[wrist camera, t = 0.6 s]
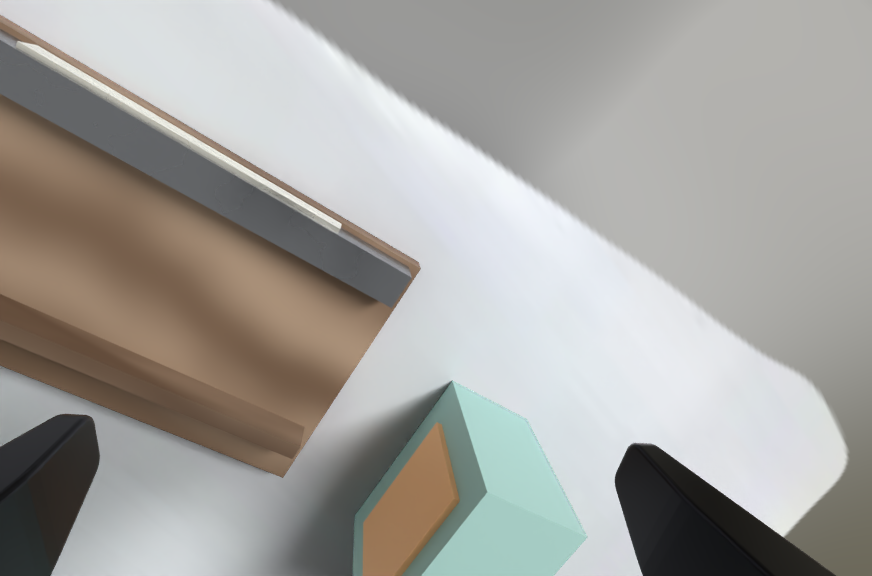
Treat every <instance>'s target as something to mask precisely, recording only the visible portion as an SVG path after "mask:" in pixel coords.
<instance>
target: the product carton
mask: <svg viewBox="0 0 872 576" xmlns="http://www.w3.org/2000/svg"><path fill="white" fill-rule="evenodd" d="M586 538H587V535H586V533H585V531H584V529H583V527H582V525H581V523H580V521H579V520H578V518H577V516H576V514H575V512H574V510H573V508H572V506H571V504H570V502H569V500H568V498H567V496H566V494H565V492H564V491H563V489H562V487H561V485H560V483H559V481H558V479H557V477H556V475H555V473H554V471H553V469H552V467H551V465H550V463H549V461H548V460H547V458H546V456H545V454H544V452H543V450H542V448H541V446H540V444H539V442H538V440H537V438H536V436H535V434H534V432H533V430H532V429H531V427H530V425H529V423H528V421H527V419H526V418H524V417H522V416H520V415H518V414H516V413H514V412H512V411H510V410H508V409H506V408H504V407H502V406H500V405H499V404H497V403H495V402H493V401H491V400H489V399H487V398H485V397H483V396H481V395H479V394H477V393H475V392H473V391H472V390H470V389H468V388H466V387H464V386H462V385H460V384H458V383H456V382H454V381H452V382H451V383H450V385H449V386H448V387H447V389H446V390H445V391H444V393H443V394H442V396H441V397H440V398H439V400H438V401H437V403H436V404H435V405H434V407H433V408H432V409H431V411H430V412H429V414H428V415H427V416H426V418H425V419H424V421H423V422H422V423H421V425H420V426H419V428H418V429H417V430H416V432H415V433H414V434H413V436H412V437H411V439H410V440H409V441H408V443H407V444H406V446H405V447H404V448H403V450H402V451H401V452H400V454H399V455H398V457H397V458H396V459H395V461H394V462H393V464H392V465H391V466H390V468H389V469H388V470H387V472H386V473H385V475H384V476H383V477H382V479H381V480H380V482H379V483H378V484H377V486H376V487H375V489H374V490H373V491H372V493H371V494H370V495H369V497H368V498H367V500H366V501H365V502H364V504H363V505H362V507H361V508H360V509H359V511H358V512H357V513H356V515H355V519H354V548H353V576H554V575H555V574H556V572H557V571H558V570H559V569H560V568H561V567H562V566H563V564H564V563H565V562H566V561H567V560H568V559H569V558H570V557H571V555H572V554H573V553H574V552H575V551H576V550H577V549H578V547H579V546H580V545H581V544H582V543H583V542H584V541H585V540H586Z"/></svg>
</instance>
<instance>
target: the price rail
mask: <svg viewBox="0 0 872 576" xmlns="http://www.w3.org/2000/svg"><path fill="white" fill-rule="evenodd" d="M0 94H2V95H3V96H5V97H7V98H9V99H11V100H12V101H14V102H16V103H18V104H20V105H22V106H23V107H25V108H27V109H29V110H31V111H33V112H34V113H36V114H38V115H40V116H42V117H44V118H45V119H47V120H49V121H51V122H53V123H54V124H56V125H58V126H60V127H62V128H64V129H65V130H67V131H69V132H71V133H73V134H75V135H76V136H78V137H80V138H82V139H84V140H86V141H87V142H89V143H91V144H93V145H95V146H96V147H98V148H100V149H102V150H104V151H106V152H107V153H109V154H111V155H113V156H115V157H117V158H118V159H120V160H122V161H124V162H126V163H128V164H129V165H131V166H133V167H135V168H137V169H138V170H140V171H142V172H144V173H146V174H148V175H149V176H151V177H153V178H155V179H157V180H159V181H160V182H162V183H164V184H166V185H168V186H169V187H171V188H173V189H175V190H177V191H179V192H180V193H182V194H184V195H186V196H188V197H190V198H191V199H193V200H195V201H197V202H199V203H201V204H202V205H204V206H206V207H208V208H210V209H211V210H213V211H215V212H217V213H219V214H221V215H222V216H224V217H226V218H228V219H230V220H232V221H233V222H235V223H237V224H239V225H241V226H243V227H244V228H246V229H248V230H250V231H252V232H253V233H255V234H257V235H259V236H261V237H263V238H264V239H266V240H268V241H270V242H272V243H274V244H275V245H277V246H279V247H281V248H283V249H285V250H286V251H288V252H290V253H292V254H294V255H295V256H297V257H299V258H301V259H303V260H305V261H306V262H308V263H310V264H312V265H314V266H316V267H317V268H319V269H321V270H323V271H325V272H327V273H328V274H330V275H332V276H334V277H336V278H337V279H339V280H341V281H343V282H345V283H347V284H348V285H350V286H352V287H354V288H356V289H358V290H359V291H361V292H363V293H365V294H367V295H369V296H370V297H372V298H374V299H376V300H378V301H379V302H381V303H383V304H385V305H387V306H389V307H390V308H392V307H393V305H394V304H395V302H396V301H397V299H398V298H399V296H400V295H401V293H402V292H403V290H404V289H405V287H406V286H407V284H408V282H409V281H410V279H411V278H412V277H411V273H410V269H409V267H408V266H406V265H405V264H403V263H401V262H400V261H398V260H396V259H395V258H393V257H391V256H389V255H388V254H386V253H384V252H383V251H381V250H379V249H377V248H376V247H374V246H372V245H371V244H369V243H367V242H365V241H364V240H362V239H360V238H359V237H357V236H355V235H353V234H352V233H350V232H348V231H347V230H345V229H343V228H341V225H342V224H341V223H340V222H338V221H336V220H334V219H333V218H331V217H329V216H328V215H326V214H324V213H322V212H321V211H319V210H317V209H316V208H314V207H312V206H311V205H309V204H307V203H305V202H304V201H302V200H300V199H299V198H297V197H295V196H293V195H292V194H290V193H288V192H287V191H285V190H283V189H282V188H280V187H278V186H276V185H275V184H273V183H271V182H270V181H268V180H266V179H265V178H263V177H261V176H259V175H258V174H256V173H254V172H253V171H251V170H249V169H247V168H246V167H244V166H242V165H241V164H239V163H237V162H236V161H234V160H232V159H230V158H229V157H227V156H225V155H224V154H222V153H220V152H218V151H217V150H215V149H213V148H212V147H210V146H208V145H207V144H205V143H203V142H201V141H200V140H198V139H196V138H195V137H193V136H191V135H190V134H188V133H186V132H184V131H183V130H181V129H179V128H178V127H176V126H174V125H172V124H171V123H169V122H167V121H166V120H164V119H162V118H161V117H159V116H157V115H155V114H154V113H152V112H150V111H149V110H147V109H145V108H143V107H142V106H140V105H138V104H137V103H135V102H133V101H132V100H130V99H128V98H126V97H125V96H123V95H121V94H120V93H118V92H116V91H115V90H113V89H111V88H109V87H108V86H106V85H104V84H103V83H101V82H99V81H97V80H96V79H94V78H92V77H91V76H89V75H87V74H86V73H84V72H82V71H80V70H79V69H77V68H75V67H74V66H72V65H70V64H68V63H67V62H65V61H63V60H62V59H60V58H58V57H57V56H55V55H53V54H51V53H50V52H48V51H46V50H45V49H43V48H41V47H39V46H38V45H34V44H29V43H25V42H23V41H21V40H20V39H18V38H16V37H14V36H13V35H11V34H9V33H8V32H6V31H4V30H2V29H1V28H0Z"/></svg>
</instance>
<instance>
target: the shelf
mask: <svg viewBox="0 0 872 576" xmlns="http://www.w3.org/2000/svg"><path fill="white" fill-rule="evenodd" d="M0 28H1V29H2V30H4V31H6V32H8V33H9V34H11V35H13V36H14V37H16V38H18V39H20V40H21V41H23V42H25V43H29V44H34V45H38V46H39V47H41V48H43V49H45V50H46V51H48V52H50V53H51V54H53V55H55V56H57V57H58V58H60V59H62V60H63V61H65V62H67V63H68V64H70V65H72V66H74V67H75V68H77V69H79V70H80V71H82V72H84V73H86V74H87V75H89V76H91V77H92V78H94V79H96V80H97V81H99V82H101V83H103V84H104V85H106V86H108V87H109V88H111V89H113V90H115V91H116V92H118V93H120V94H121V95H123V96H125V97H126V98H128V99H130V100H132V101H133V102H135V103H137V104H138V105H140V106H142V107H143V108H145V109H147V110H149V111H150V112H152V113H154V114H155V115H157V116H159V117H161V118H162V119H164V120H166V121H167V122H169V123H171V124H172V125H174V126H176V127H178V128H179V129H181V130H183V131H184V132H186V133H188V134H190V135H191V136H193V137H195V138H196V139H198V140H200V141H201V142H203V143H205V144H207V145H208V146H210V147H212V148H213V149H215V150H217V151H218V152H220V153H222V154H224V155H225V156H227V157H229V158H230V159H232V160H234V161H236V162H237V163H239V164H241V165H242V166H244V167H246V168H247V169H249V170H251V171H253V172H254V173H256V174H258V175H259V176H261V177H263V178H265V179H266V180H268V181H270V182H271V183H273V184H275V185H276V186H278V187H280V188H282V189H283V190H285V191H287V192H288V193H290V194H292V195H293V196H295V197H297V198H299V199H300V200H302V201H304V202H305V203H307V204H309V205H311V206H312V207H314V208H316V209H317V210H319V211H321V212H322V213H324V214H326V215H328V216H329V217H331V218H333V219H334V220H336V221H338V222H340V223H341V224H342V225H341V228H343V229H345V230H347V231H348V232H350V233H352V234H353V235H355V236H357V237H359V238H360V239H362V240H364V241H365V242H367V243H369V244H371V245H372V246H374V247H376V248H377V249H379V250H381V251H383V252H384V253H386V254H388V255H389V256H391V257H393V258H395V259H396V260H398V261H400V262H401V263H403V264H405V265H406V266H408V267H409V269H410V273H411V277H412V278H411V279H410V281H409V282H408V284H407V286H406V287H405V289H404V290H403V292H402V293H401V295H400V296H399V298H398V299H397V301H396V302H395V304H394V305H393V307H392V308H390V307H389V306H387V305H385V304H383V303H381V302H379V301H378V300H376V299H374V298H372V297H370V296H369V295H367V294H365V293H363V292H361V291H359V290H358V289H356V288H354V287H352V286H350V285H348V284H347V283H345V282H343V281H341V280H339V279H337V278H336V277H334V276H332V275H330V274H328V273H327V272H325V271H323V270H321V269H319V268H317V267H316V266H314V265H312V264H310V263H308V262H306V261H305V260H303V259H301V258H299V257H297V256H295V255H294V254H292V253H290V252H288V251H286V250H285V249H283V248H281V247H279V246H277V245H275V244H274V243H272V242H270V241H268V240H266V239H264V238H263V237H261V236H259V235H257V234H255V233H253V232H252V231H250V230H248V229H246V228H244V227H243V226H241V225H239V224H237V223H235V222H233V221H232V220H230V219H228V218H226V217H224V216H222V215H221V214H219V213H217V212H215V211H213V210H211V209H210V208H208V207H206V206H204V205H202V204H201V203H199V202H197V201H195V200H193V199H191V198H190V197H188V196H186V195H184V194H182V193H180V192H179V191H177V190H175V189H173V188H171V187H169V186H168V185H166V184H164V183H162V182H160V181H159V180H157V179H155V178H153V177H151V176H149V175H148V174H146V173H144V172H142V171H140V170H138V169H137V168H135V167H133V166H131V165H129V164H128V163H126V162H124V161H122V160H120V159H118V158H117V157H115V156H113V155H111V154H109V153H107V152H106V151H104V150H102V149H100V148H98V147H96V146H95V145H93V144H91V143H89V142H87V141H86V140H84V139H82V138H80V137H78V136H76V135H75V134H73V133H71V132H69V131H67V130H65V129H64V128H62V127H60V126H58V125H56V124H54V123H53V122H51V121H49V120H47V119H45V118H44V117H42V116H40V115H38V114H36V113H34V112H33V111H31V110H29V109H27V108H25V107H23V106H22V105H20V104H18V103H16V102H14V101H12V100H11V99H9V98H7V97H5V96H3V95H2V94H0V366H3V367H5V368H8V369H10V370H13V371H15V372H18V373H20V374H23V375H26V376H28V377H31V378H33V379H36V380H38V381H41V382H43V383H46V384H48V385H51V386H53V387H56V388H58V389H61V390H63V391H66V392H68V393H71V394H73V395H76V396H78V397H81V398H83V399H86V400H88V401H91V402H93V403H96V404H99V405H101V406H104V407H106V408H109V409H111V410H114V411H116V412H119V413H121V414H124V415H126V416H129V417H131V418H134V419H136V420H139V421H141V422H144V423H146V424H149V425H151V426H154V427H156V428H159V429H161V430H164V431H166V432H169V433H172V434H174V435H177V436H179V437H182V438H184V439H187V440H189V441H192V442H194V443H197V444H199V445H202V446H204V447H207V448H209V449H212V450H214V451H217V452H219V453H222V454H224V455H227V456H229V457H232V458H234V459H237V460H239V461H242V462H245V463H247V464H250V465H252V466H255V467H257V468H260V469H262V470H265V471H267V472H270V473H272V474H275V475H277V476H280V477H282V478H283V477H284V475H285V474H286V472H287V471H288V469H289V468H290V466H291V465H292V463H293V462H294V460H295V459H296V457H297V456H298V454H299V453H300V451H301V449H302V448H303V446H304V445H305V443H306V442H307V440H308V439H309V437H310V436H311V434H312V433H313V431H314V430H315V428H316V427H317V425H318V424H319V422H320V421H321V419H322V418H323V416H324V415H325V413H326V412H327V410H328V409H329V407H330V406H331V404H332V402H333V401H334V399H335V398H336V396H337V395H338V393H339V392H340V390H341V389H342V387H343V386H344V384H345V383H346V381H347V380H348V378H349V377H350V375H351V374H352V372H353V371H354V369H355V368H356V366H357V365H358V363H359V362H360V360H361V358H362V357H363V355H364V354H365V352H366V351H367V349H368V348H369V346H370V345H371V343H372V342H373V340H374V339H375V337H376V336H377V334H378V333H379V331H380V330H381V328H382V327H383V325H384V324H385V322H386V321H387V319H388V318H389V316H390V314H391V313H392V311H393V310H394V308H395V307H396V305H397V304H398V302H399V301H400V299H401V298H402V296H403V295H404V293H405V292H406V290H407V289H408V287H409V286H410V284H411V283H412V281H413V280H414V278H415V277H416V275H417V274H418V272H419V271H420V269H421V268H420V265H419V262H417V261H415V260H414V259H412V258H410V257H409V256H407V255H405V254H404V253H402V252H400V251H399V250H397V249H395V248H393V247H392V246H390V245H388V244H387V243H385V242H383V241H382V240H380V239H378V238H377V237H375V236H373V235H371V234H370V233H368V232H366V231H365V230H363V229H361V228H360V227H358V226H356V225H355V224H353V223H351V222H349V221H348V220H346V219H344V218H343V217H341V216H339V215H338V214H336V213H334V212H333V211H331V210H329V209H328V208H326V207H324V206H322V205H321V204H319V203H317V202H316V201H314V200H312V199H311V198H309V197H307V196H306V195H304V194H302V193H300V192H299V191H297V190H295V189H294V188H292V187H290V186H289V185H287V184H285V183H284V182H282V181H280V180H278V179H277V178H275V177H273V176H272V175H270V174H268V173H267V172H265V171H263V170H262V169H260V168H258V167H256V166H255V165H253V164H251V163H250V162H248V161H246V160H245V159H243V158H241V157H240V156H238V155H236V154H235V153H233V152H231V151H229V150H228V149H226V148H224V147H223V146H221V145H219V144H218V143H216V142H214V141H213V140H211V139H209V138H207V137H206V136H204V135H202V134H201V133H199V132H197V131H196V130H194V129H192V128H191V127H189V126H187V125H185V124H184V123H182V122H180V121H179V120H177V119H175V118H174V117H172V116H170V115H169V114H167V113H165V112H163V111H162V110H160V109H158V108H157V107H155V106H153V105H152V104H150V103H148V102H147V101H145V100H143V99H141V98H140V97H138V96H136V95H135V94H133V93H131V92H130V91H128V90H126V89H125V88H123V87H121V86H120V85H118V84H116V83H114V82H113V81H111V80H109V79H108V78H106V77H104V76H103V75H101V74H99V73H98V72H96V71H94V70H92V69H91V68H89V67H87V66H86V65H84V64H82V63H81V62H79V61H77V60H76V59H74V58H72V57H70V56H69V55H67V54H65V53H64V52H62V51H60V50H59V49H57V48H55V47H54V46H52V45H50V44H48V43H47V42H45V41H43V40H42V39H40V38H38V37H37V36H35V35H33V34H32V33H30V32H28V31H27V30H25V29H23V28H21V27H20V26H18V25H16V24H15V23H13V22H11V21H10V20H8V19H6V18H5V17H3V16H1V15H0Z"/></svg>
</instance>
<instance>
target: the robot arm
mask: <svg viewBox="0 0 872 576" xmlns="http://www.w3.org/2000/svg"><path fill="white" fill-rule="evenodd" d="M99 459H100V454H99V448H98V442H97V436H96V430H95V424H94V421H93V419H92V418H91V417H90V416H87V415H75V414H60V415H57V416H55V417H53V418H51V419H49V420H47V421H46V422H44V423H42V424H40V425H39V426H37V427H35V428H33V429H31V430H30V431H28V432H26V433H24V434H23V435H21V436H19V437H17V438H15V439H14V440H12V441H10V442H8V443H6V444H5V445H3V446H1V447H0V576H50V575H51V574H52V572H53V569H54V567H55V565H56V563H57V561H58V559H59V556H60V554H61V552H62V550H63V547H64V545H65V543H66V541H67V538H68V536H69V534H70V531H71V529H72V527H73V524H74V522H75V520H76V518H77V515H78V513H79V511H80V508H81V506H82V504H83V502H84V499H85V497H86V495H87V492H88V490H89V488H90V486H91V483H92V481H93V479H94V476H95V474H96V472H97V469H98V465H99ZM615 487H616V491H617V494H618V497H619V501H620V504H621V507H622V511H623V514H624V517H625V521H626V524H627V527H628V530H629V534H630V537H631V540H632V544H633V547H634V550H635V554H636V557H637V560H638V563H639V566H640V569H641V572H642V574H643V576H836V575H835V574H833V573H832V572H831V571H829V570H828V569H826V568H825V567H824V566H822V565H821V564H820V563H818V562H817V561H815V560H814V559H813V558H811V557H810V556H808V555H807V554H806V553H804V552H803V551H801V550H800V549H798V548H797V547H796V546H795V545H793V544H792V543H790V542H789V541H788V540H786V539H785V538H783V537H782V536H781V535H779V534H778V533H777V532H775V531H774V530H772V529H771V528H770V527H768V526H767V525H765V524H764V523H763V522H761V521H760V520H758V519H757V518H756V517H754V516H753V515H752V514H750V513H749V512H747V511H746V510H745V509H743V508H742V507H740V506H739V505H738V504H736V503H735V502H734V501H732V500H731V499H729V498H728V497H727V496H725V495H724V494H722V493H721V492H720V491H718V490H717V489H716V488H714V487H713V486H711V485H710V484H709V483H707V482H706V481H704V480H703V479H702V478H700V477H699V476H698V475H696V474H695V473H693V472H692V471H691V470H689V469H688V468H686V467H685V466H684V465H682V464H681V463H679V462H678V461H677V460H675V459H674V458H673V457H671V456H670V455H668V454H667V453H666V452H664V451H663V450H661V449H660V448H659V447H657V446H656V445H653V444H647V443H633V444H631V445H630V446H629V447H628V449H627V451H626V453H625V455H624V457H623V459H622V461H621V464H620V466H619V468H618V470H617V472H616V475H615Z"/></svg>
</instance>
